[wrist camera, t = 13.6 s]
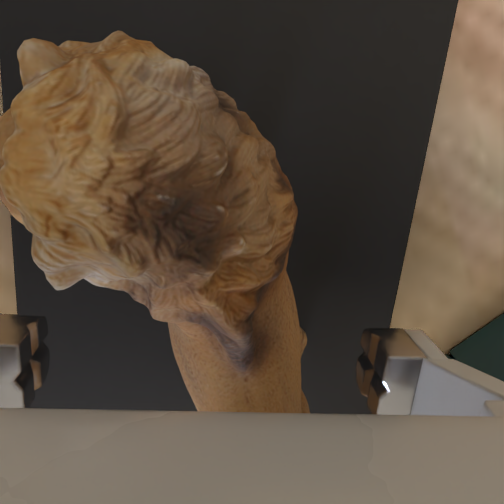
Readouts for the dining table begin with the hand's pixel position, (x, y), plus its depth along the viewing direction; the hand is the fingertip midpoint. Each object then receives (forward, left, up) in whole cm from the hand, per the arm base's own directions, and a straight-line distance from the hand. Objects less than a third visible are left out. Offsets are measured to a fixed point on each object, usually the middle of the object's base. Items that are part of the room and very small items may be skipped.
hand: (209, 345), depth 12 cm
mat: (0, 0, -5) cm, 5 cm away
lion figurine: (0, 0, -4) cm, 4 cm away
